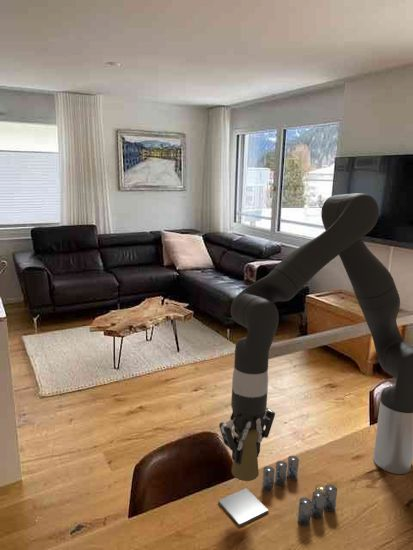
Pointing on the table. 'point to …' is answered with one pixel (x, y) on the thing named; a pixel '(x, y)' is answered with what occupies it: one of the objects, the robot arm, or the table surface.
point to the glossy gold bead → (320, 488)
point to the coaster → (243, 507)
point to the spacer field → (305, 504)
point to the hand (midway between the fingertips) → (245, 458)
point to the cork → (247, 458)
